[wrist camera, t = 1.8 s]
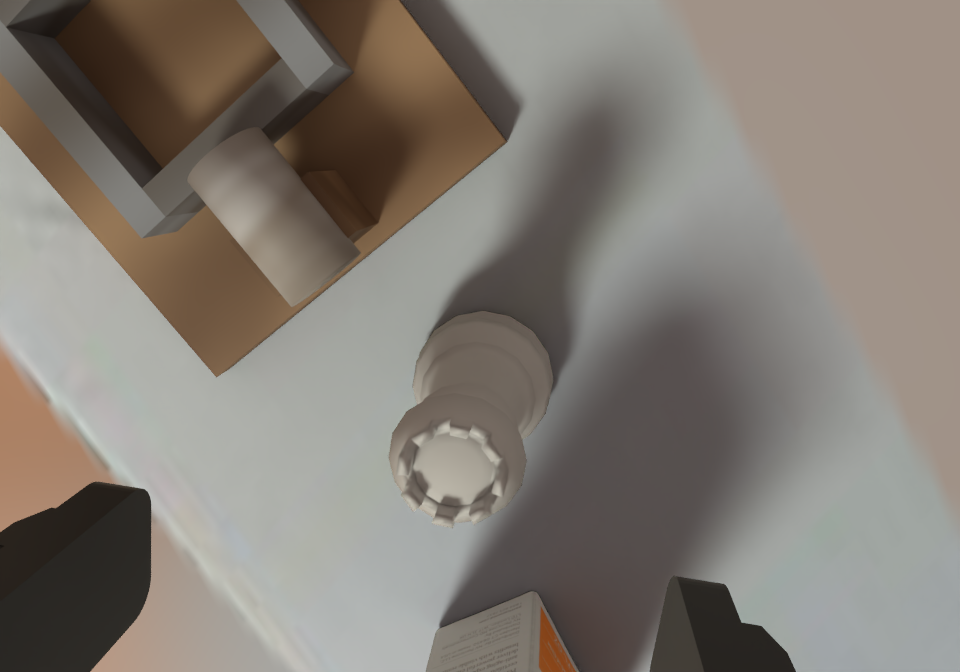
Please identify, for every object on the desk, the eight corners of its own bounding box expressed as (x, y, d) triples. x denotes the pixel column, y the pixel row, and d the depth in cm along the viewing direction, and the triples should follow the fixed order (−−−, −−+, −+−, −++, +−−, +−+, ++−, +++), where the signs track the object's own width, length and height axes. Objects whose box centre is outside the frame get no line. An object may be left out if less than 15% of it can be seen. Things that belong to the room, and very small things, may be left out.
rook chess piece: (521, 286, 23) (504, 350, 15) (574, 410, 24) (582, 530, 16) (396, 338, 24) (320, 423, 16) (451, 456, 25) (403, 590, 17)
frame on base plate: (507, 141, 22) (494, 137, 18) (229, 368, 25) (154, 416, 20) (152, -327, 20) (32, -471, 16) (-107, -26, 23) (-276, -72, 18)
